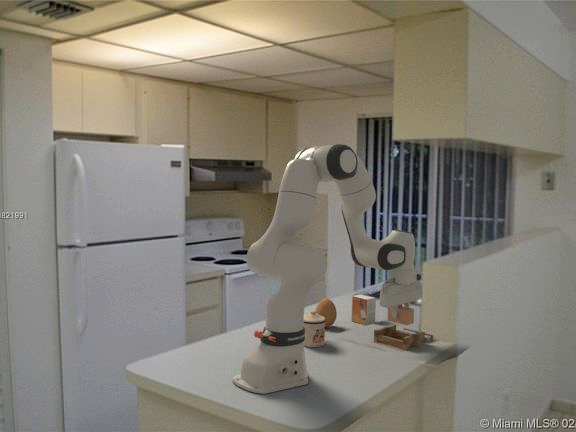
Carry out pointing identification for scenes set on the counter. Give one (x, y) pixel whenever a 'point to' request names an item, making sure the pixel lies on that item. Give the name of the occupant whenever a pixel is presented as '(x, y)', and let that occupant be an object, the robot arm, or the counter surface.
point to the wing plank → (415, 333)
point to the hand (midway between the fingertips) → (400, 316)
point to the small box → (363, 309)
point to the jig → (399, 338)
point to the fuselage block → (402, 315)
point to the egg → (327, 311)
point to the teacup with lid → (314, 329)
